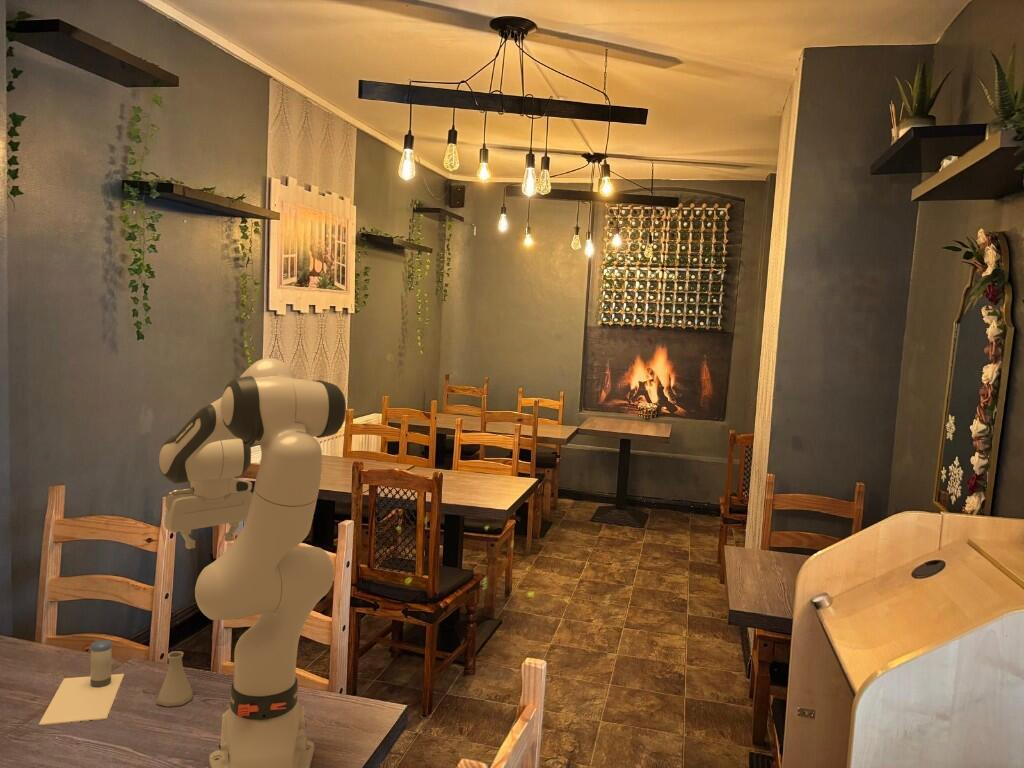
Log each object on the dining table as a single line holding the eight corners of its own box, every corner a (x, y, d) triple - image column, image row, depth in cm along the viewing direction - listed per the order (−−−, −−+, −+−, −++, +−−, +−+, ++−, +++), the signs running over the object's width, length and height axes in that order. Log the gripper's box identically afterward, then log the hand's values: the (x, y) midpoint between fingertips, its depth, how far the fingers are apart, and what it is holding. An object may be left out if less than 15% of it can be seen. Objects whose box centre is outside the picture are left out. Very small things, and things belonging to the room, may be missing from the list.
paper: (106, 719, 155) (106, 717, 155) (38, 725, 152) (38, 724, 152) (124, 674, 174) (124, 673, 174) (64, 679, 171) (64, 678, 171)
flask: (184, 708, 161) (185, 662, 160) (149, 707, 161) (150, 660, 160) (198, 692, 168) (199, 647, 168) (165, 690, 168) (165, 646, 168)
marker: (109, 686, 168) (109, 646, 167) (88, 688, 167) (89, 648, 166) (112, 678, 172) (113, 639, 171) (92, 679, 171) (92, 640, 170)
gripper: (172, 493, 168) (171, 555, 168) (258, 482, 183) (257, 539, 184) (159, 488, 172) (158, 549, 173) (244, 478, 187) (243, 534, 188)
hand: (210, 544), depth 178 cm, fingers open, 8 cm apart
